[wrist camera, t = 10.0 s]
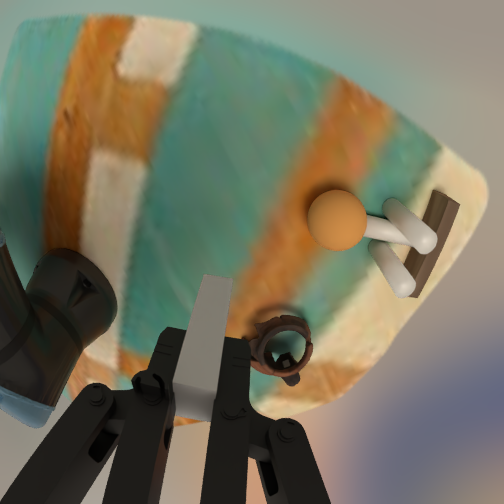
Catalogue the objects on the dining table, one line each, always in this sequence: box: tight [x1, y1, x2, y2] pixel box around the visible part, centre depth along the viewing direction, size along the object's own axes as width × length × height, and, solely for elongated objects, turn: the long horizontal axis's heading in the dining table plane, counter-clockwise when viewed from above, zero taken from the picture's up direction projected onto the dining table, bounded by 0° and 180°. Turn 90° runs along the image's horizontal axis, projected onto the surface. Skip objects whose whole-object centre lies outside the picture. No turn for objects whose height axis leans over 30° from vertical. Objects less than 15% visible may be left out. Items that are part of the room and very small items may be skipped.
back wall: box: [404, 190, 460, 298], centre depth 29 cm, size 2×13×4 cm, turn 170°
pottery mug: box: [242, 315, 313, 386], centre depth 36 cm, size 12×10×8 cm
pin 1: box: [382, 198, 437, 254], centre depth 25 cm, size 2×2×8 cm
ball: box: [307, 190, 367, 251], centre depth 26 cm, size 6×6×6 cm
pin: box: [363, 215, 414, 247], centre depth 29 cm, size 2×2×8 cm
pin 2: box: [368, 239, 416, 298], centre depth 27 cm, size 2×2×8 cm
